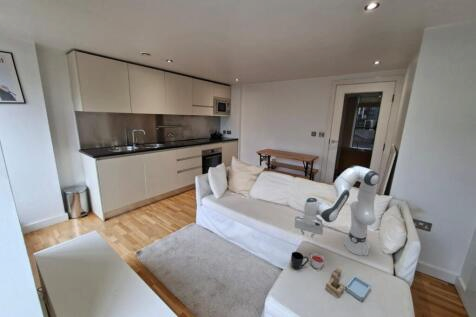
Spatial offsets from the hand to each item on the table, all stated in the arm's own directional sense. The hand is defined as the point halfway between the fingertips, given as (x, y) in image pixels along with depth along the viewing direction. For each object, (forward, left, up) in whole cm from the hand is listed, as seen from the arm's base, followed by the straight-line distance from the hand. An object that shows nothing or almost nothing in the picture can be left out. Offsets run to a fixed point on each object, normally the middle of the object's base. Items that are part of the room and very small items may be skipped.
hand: (307, 235), depth 146 cm
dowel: (+10, +28, -19) cm, 35 cm away
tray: (-2, +37, -19) cm, 42 cm away
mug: (+12, +3, -19) cm, 23 cm away
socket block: (+10, +28, -19) cm, 35 cm away
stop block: (0, +24, -19) cm, 31 cm away
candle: (0, +10, -19) cm, 22 cm away
